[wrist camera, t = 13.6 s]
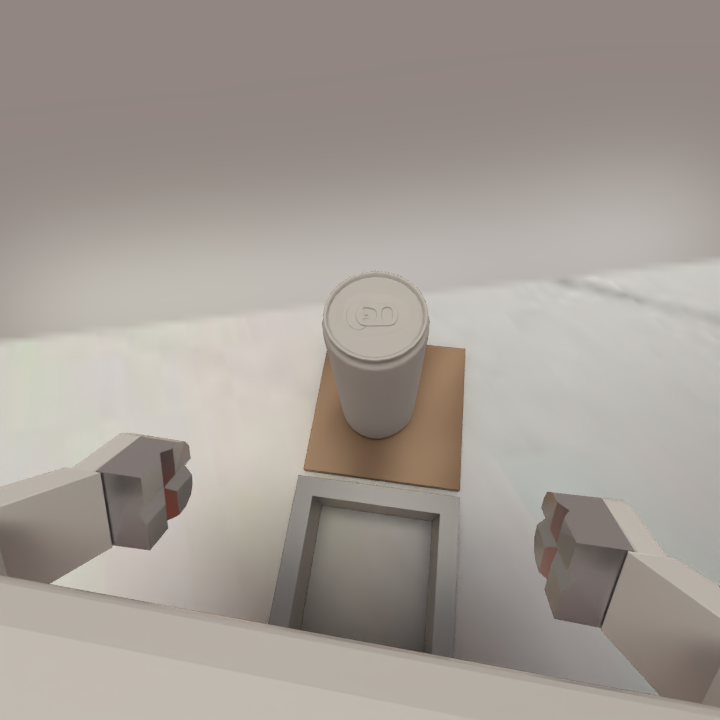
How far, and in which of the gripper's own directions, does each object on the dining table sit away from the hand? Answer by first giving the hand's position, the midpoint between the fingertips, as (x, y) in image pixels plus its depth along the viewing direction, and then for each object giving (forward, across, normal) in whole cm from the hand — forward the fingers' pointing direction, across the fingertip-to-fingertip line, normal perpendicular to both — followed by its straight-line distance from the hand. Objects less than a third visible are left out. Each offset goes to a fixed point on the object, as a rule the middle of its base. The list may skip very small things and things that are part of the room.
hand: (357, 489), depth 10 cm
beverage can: (+18, +1, +7) cm, 20 cm away
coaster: (+19, 0, +7) cm, 20 cm away
